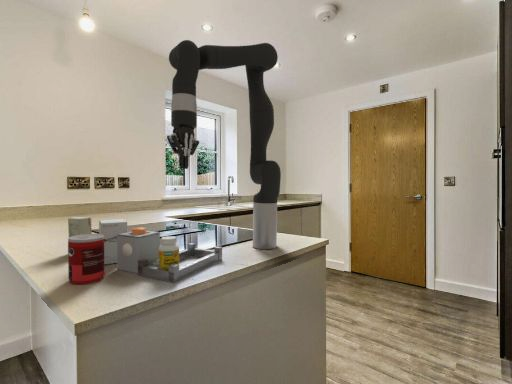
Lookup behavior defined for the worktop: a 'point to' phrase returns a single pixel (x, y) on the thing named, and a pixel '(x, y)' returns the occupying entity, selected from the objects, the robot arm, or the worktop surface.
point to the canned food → (86, 258)
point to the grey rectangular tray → (174, 270)
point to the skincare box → (79, 226)
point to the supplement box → (111, 237)
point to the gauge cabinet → (136, 249)
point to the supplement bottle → (168, 252)
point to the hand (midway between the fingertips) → (183, 168)
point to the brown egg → (138, 231)
